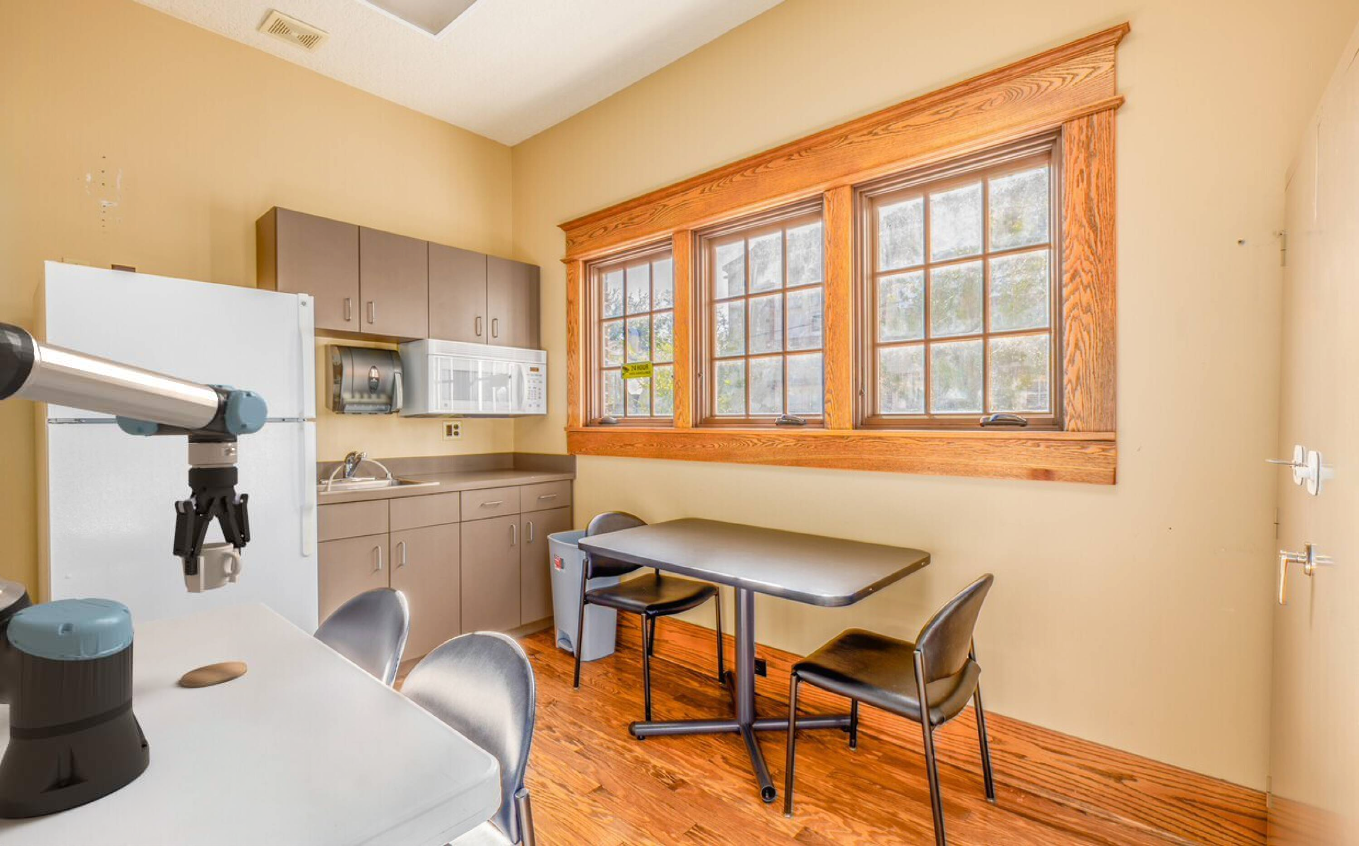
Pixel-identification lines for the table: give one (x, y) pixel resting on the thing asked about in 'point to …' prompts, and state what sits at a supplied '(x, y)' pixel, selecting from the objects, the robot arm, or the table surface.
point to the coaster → (213, 674)
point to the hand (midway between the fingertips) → (214, 586)
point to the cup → (217, 564)
